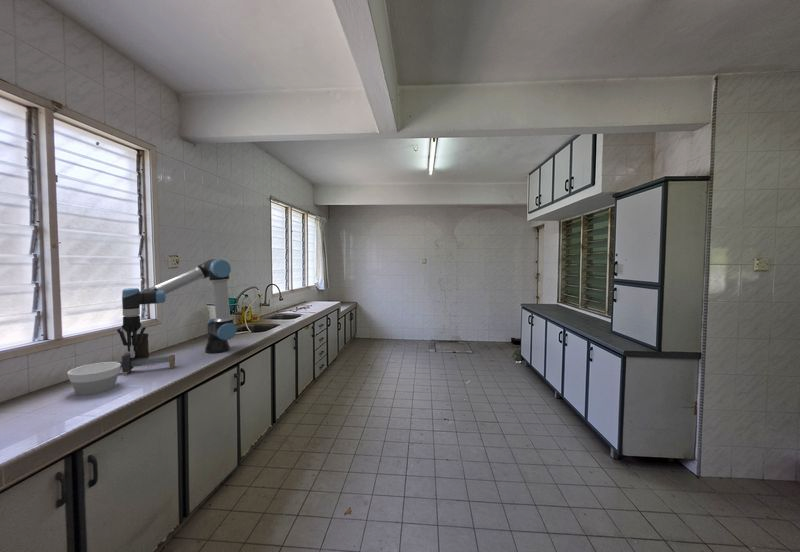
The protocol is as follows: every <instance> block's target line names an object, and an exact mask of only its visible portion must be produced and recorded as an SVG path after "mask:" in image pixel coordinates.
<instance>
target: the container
mask: <svg viewBox="0 0 800 552" xmlns="http://www.w3.org/2000/svg"><path fill="white" fill-rule="evenodd" d="M139 335H140V333H137V342H138V339H139ZM149 336H150V335H149V333H145V332H144V333H143V337H142V341H141V343H140V344H138V345H137V351H135V357H134V358H133V359H141V358H150V352H149V349H150V348H149ZM131 345H133V334H131ZM137 366H140V365H136V366H135V367H137Z"/></svg>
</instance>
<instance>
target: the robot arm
mask: <svg viewBox="0 0 800 552" xmlns="http://www.w3.org/2000/svg"><path fill="white" fill-rule="evenodd" d="M231 271H232V267H231V265H230V263H229V262H228V261H226V260H225V259H222V258H221V259H220V258H218V259H217V258H216V259H215V258H213V259H212V258H211V259H208V260H206V261H205V262H202V263H201V264H198V265H196V266H195V267H194V268H192V269H191V270H189V271H188V270H187V271H186V272H184V273H182V274H179V275H177V276H175V277H173V278H170V279H167V280H165V281H162V282H161V283H157V284H156V285H153V286H151V287H148V288H145V289H142V290H140V288H138V287H134V288H133V287H130V288H129V287H128V288H123V290H122V292H121V294H122V295H121V303H122V304H121V305H122V316H123V317H122V325H121V327H119V328H118V329H116V332H117V333H118V334H119V336H120V340H121V342H122V345H123V346H126V347H127V353H129V352H130V358H134V357H135V351H137V345H138V344H140V343H141V341H142V337H143V333H145V331H146V329H147V327H146V326H144V325H142V324H141V315H140V314H141V307H140V306H141V305H142V306H143V305H152V304H153V305H155V304H164V303H165V302H166V299H167V297H166V295H168V294H170V293H171V292H172V293H173V292H175V291H177V290H178V289H181V288H183V287H185V286H188V285H190V284H192V283H194V282H197V281H198V280H201V279H202V280H205V279H207V278H209V279H208V280H209V281H210V282H211V283H212V289H213V290H212V292H213V300H214V301H213V303H214V309H215V310H214V311H215V318H209V319H208V320H207V324H206V325H207V342H206V345H205V349H204V352H205V353H206V354H217V353H218V354H219V353H226V352H228V351H229V350H231V349H230V343H229V340H231V339H232V338H234V337H235V336H236V333H237V331H238V329H237V326H236V325H235V324H234V318H233V317H232V316H231V311H230V299H229V298H230V297H229V287H228V281H229V280H230V273H231ZM139 330H140V331H139ZM124 331H125V332H126V335H125V333H124ZM138 332H139V334H140V335H139V339H138V342H137V334H138ZM132 335H133V345H132V338H131V336H132Z"/></svg>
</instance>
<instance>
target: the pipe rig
mask: <svg viewBox="0 0 800 552" xmlns="http://www.w3.org/2000/svg"><path fill="white" fill-rule="evenodd" d="M109 362H118V363H120V364H121V366H120V368H122V359H121V360H110V361H109ZM163 363H169V365H168V366H169V370H173V369H175V367H176V355H175V354H170V355H164V356H163V355H162V356H155V357H154V356H152V357H149V358H141V359H131V360H130V366H133V367H137V366H136V365H139V366H143V365H144V366H145V365H152V364H153V365H154V364H163ZM131 371H132V369H131V370H130V372H131ZM130 372H124V374H123V376H127V375H128V374H129V373H130Z"/></svg>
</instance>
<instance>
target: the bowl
mask: <svg viewBox="0 0 800 552" xmlns="http://www.w3.org/2000/svg"><path fill="white" fill-rule="evenodd" d="M120 366H121V364H120V363H118V362H110V361H104V362H96V363H95V362H94V363H90V364H89V363H88V364H84V365H81V366H77V367H74V368H72V369H70V370H68V371H67V376H68V379H69V381H70V383H71V386H72V388H73V391H74V392H75V395H78V396H88V395H89V396H91V395H95V394H96V395H97V394H100V393H104V392H107V391H109V390H111V389H113V388H115V387H116V382H117V380H118V377H119V373H120V370H121V367H120Z"/></svg>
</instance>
